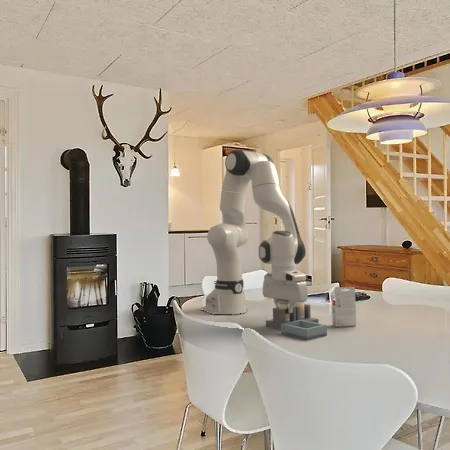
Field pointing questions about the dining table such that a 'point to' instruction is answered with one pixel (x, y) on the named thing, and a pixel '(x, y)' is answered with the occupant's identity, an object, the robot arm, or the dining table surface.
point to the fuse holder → (294, 316)
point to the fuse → (301, 309)
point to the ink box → (344, 307)
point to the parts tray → (304, 329)
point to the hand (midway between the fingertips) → (284, 311)
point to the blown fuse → (284, 305)
